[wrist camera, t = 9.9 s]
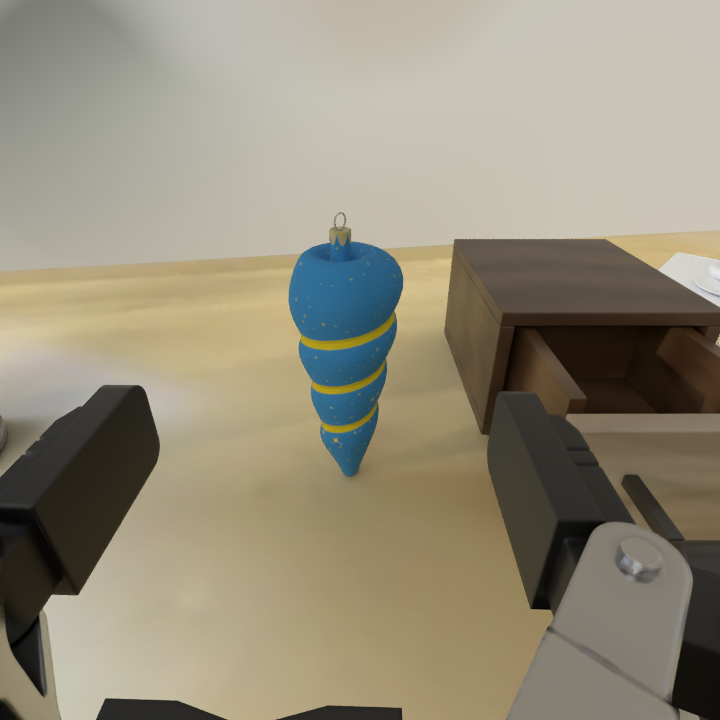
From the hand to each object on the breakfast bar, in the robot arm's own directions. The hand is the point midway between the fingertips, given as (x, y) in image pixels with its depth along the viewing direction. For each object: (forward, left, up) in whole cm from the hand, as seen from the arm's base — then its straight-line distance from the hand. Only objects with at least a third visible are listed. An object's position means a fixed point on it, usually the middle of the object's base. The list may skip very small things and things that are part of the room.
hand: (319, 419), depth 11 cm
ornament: (0, +11, -13) cm, 17 cm away
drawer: (+15, +10, -12) cm, 22 cm away
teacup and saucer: (+46, +40, -13) cm, 63 cm away
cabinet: (+15, +22, -13) cm, 30 cm away
